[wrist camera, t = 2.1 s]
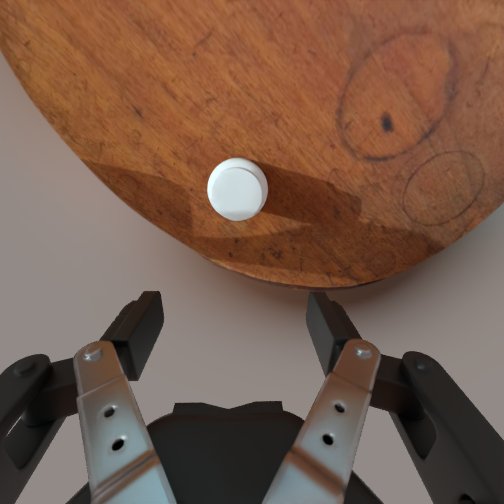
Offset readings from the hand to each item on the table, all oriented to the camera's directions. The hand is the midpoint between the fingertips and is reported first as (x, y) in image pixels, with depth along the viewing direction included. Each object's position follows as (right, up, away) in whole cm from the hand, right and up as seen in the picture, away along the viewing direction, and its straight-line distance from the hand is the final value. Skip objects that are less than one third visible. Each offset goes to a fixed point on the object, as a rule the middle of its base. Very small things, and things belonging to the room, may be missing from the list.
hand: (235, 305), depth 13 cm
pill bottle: (-1, +12, +19) cm, 22 cm away
